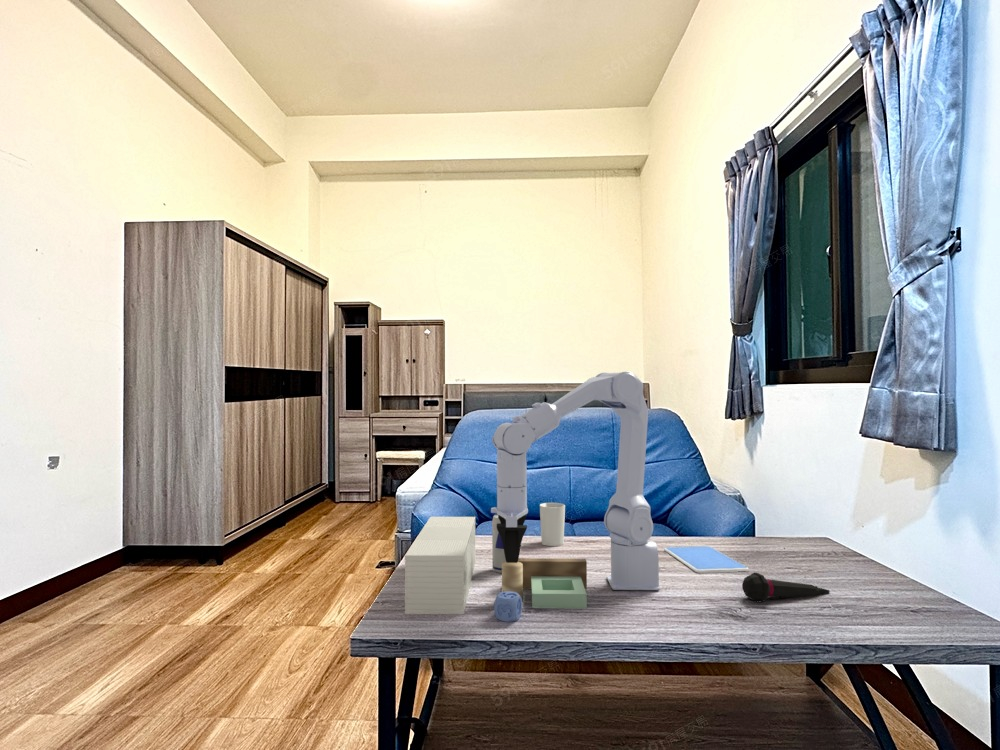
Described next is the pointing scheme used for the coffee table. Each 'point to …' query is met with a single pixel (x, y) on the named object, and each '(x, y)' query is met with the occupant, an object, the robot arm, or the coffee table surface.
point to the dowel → (512, 577)
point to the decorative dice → (508, 606)
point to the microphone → (776, 588)
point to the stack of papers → (440, 566)
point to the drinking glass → (552, 523)
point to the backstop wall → (553, 569)
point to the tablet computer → (705, 559)
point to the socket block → (558, 592)
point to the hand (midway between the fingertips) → (512, 556)
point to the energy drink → (497, 547)
